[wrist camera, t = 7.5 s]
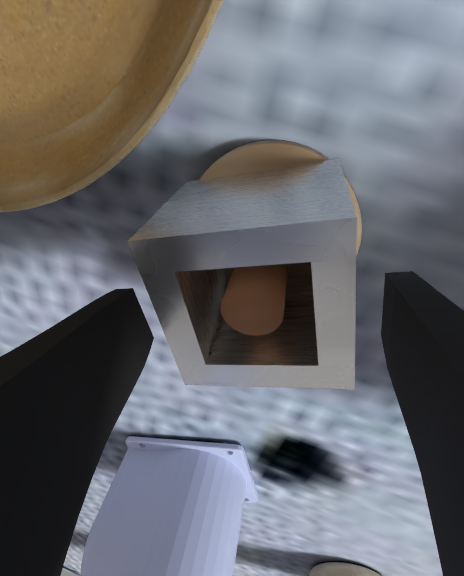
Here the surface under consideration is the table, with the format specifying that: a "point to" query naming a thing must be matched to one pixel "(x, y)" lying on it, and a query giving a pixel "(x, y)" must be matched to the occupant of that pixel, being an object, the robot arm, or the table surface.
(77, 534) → the table surface
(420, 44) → the table surface
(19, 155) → the plant saucer
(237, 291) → the post stand
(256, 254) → the collar
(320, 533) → the table surface
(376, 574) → the stacking toy
